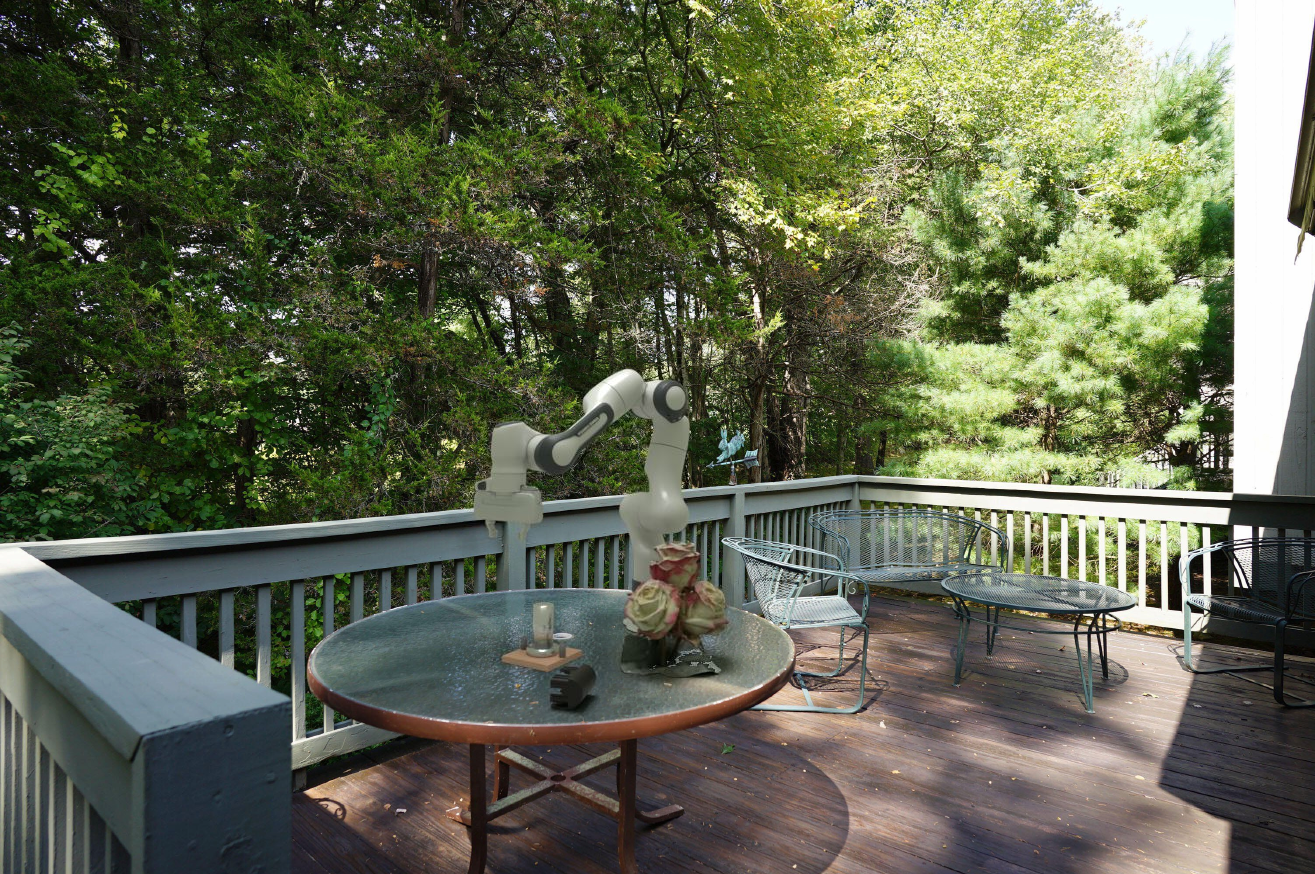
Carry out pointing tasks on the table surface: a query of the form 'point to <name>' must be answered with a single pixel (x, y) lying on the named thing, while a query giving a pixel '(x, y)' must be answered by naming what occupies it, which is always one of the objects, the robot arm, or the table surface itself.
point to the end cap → (572, 686)
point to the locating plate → (541, 664)
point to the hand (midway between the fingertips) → (507, 538)
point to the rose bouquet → (672, 615)
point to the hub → (542, 632)
